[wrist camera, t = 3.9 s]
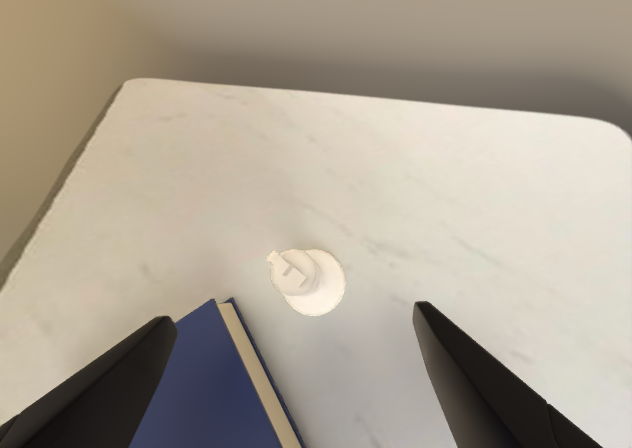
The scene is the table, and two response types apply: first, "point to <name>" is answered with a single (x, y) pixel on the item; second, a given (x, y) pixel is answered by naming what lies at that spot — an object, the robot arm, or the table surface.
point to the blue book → (216, 390)
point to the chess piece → (308, 280)
